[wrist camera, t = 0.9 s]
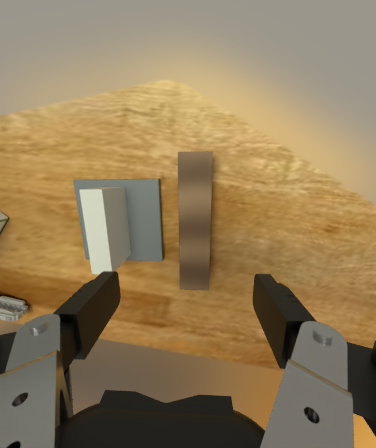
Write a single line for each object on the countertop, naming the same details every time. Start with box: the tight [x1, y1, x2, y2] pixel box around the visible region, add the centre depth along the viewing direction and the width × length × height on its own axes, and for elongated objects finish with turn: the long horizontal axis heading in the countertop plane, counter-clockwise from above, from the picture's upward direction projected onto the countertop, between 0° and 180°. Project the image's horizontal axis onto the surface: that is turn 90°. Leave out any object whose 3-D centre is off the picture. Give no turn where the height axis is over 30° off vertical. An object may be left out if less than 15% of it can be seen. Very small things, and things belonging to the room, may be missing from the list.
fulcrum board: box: [74, 179, 164, 274], centre depth 24 cm, size 12×12×7 cm
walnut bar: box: [178, 152, 213, 290], centre depth 25 cm, size 18×4×4 cm, turn 0°
